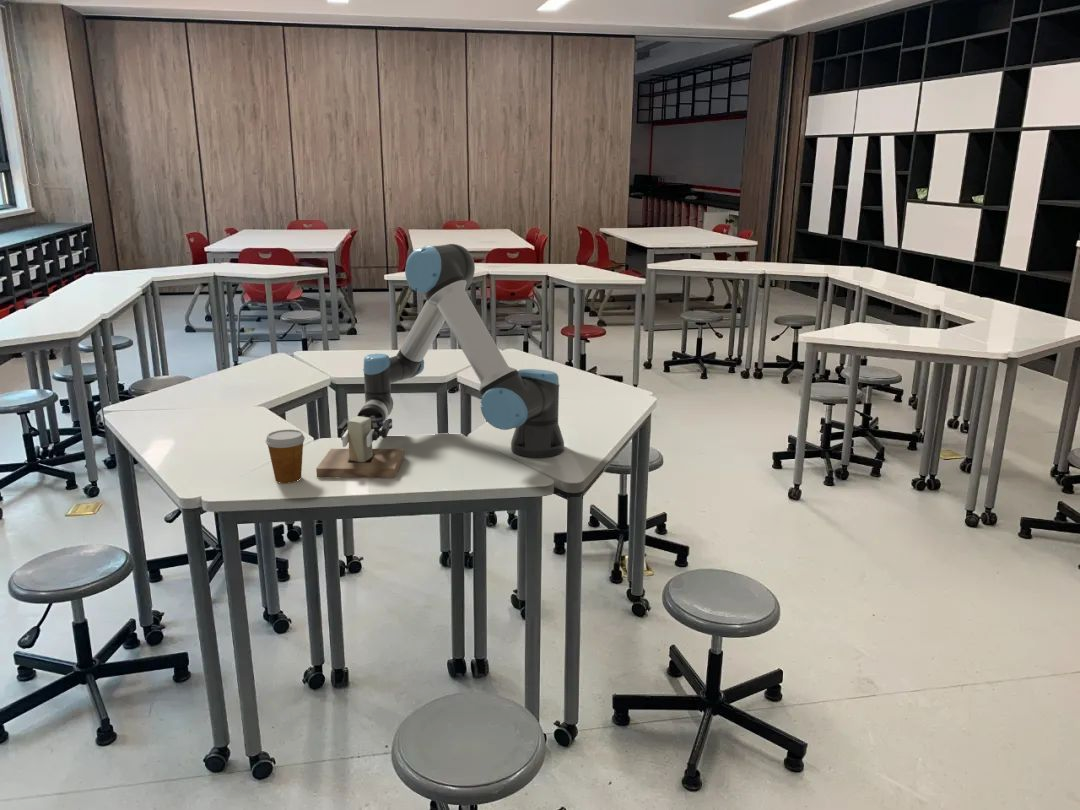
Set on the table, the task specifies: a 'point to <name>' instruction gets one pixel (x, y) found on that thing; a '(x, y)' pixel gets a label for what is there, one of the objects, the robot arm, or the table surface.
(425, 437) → the table surface
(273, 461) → the disposable coffee cup
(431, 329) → the robot arm
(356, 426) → the box
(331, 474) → the socket block
